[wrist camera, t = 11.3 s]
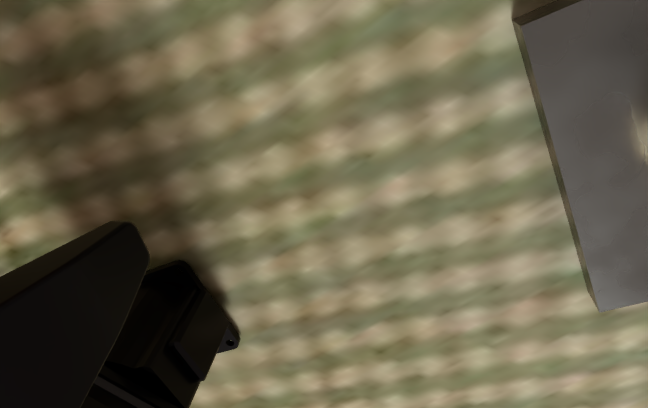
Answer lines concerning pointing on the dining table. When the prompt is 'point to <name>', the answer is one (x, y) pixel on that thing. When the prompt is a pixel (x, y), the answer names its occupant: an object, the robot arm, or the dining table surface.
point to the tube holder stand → (596, 133)
